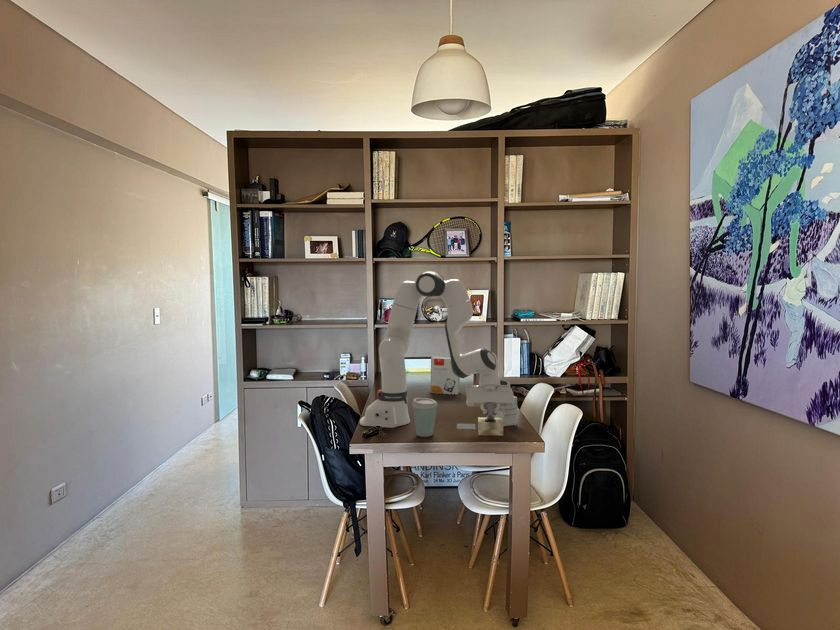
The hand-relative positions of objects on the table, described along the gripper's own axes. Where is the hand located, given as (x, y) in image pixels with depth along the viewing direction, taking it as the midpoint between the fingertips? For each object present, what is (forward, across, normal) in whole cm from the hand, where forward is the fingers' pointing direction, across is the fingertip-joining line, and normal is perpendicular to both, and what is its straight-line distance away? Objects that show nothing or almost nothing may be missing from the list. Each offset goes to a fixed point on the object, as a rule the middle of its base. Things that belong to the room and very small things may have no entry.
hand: (490, 414), depth 221 cm
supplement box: (-4, +7, +15) cm, 17 cm away
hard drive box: (-46, -21, +58) cm, 77 cm away
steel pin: (+3, 0, +4) cm, 5 cm away
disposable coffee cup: (+10, -27, +2) cm, 29 cm away
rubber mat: (0, -10, +11) cm, 15 cm away
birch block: (+5, 0, +6) cm, 8 cm away
